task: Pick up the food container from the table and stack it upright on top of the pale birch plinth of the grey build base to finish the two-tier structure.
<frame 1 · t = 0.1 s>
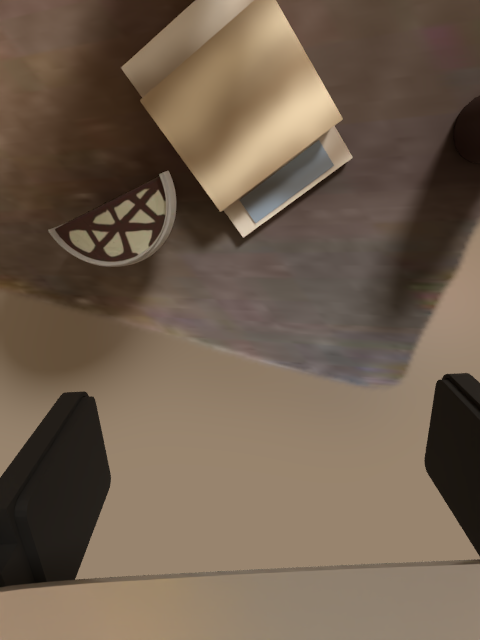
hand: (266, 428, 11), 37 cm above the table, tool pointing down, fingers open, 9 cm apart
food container: (143, 219, 45), on the table
build base: (241, 116, 42), on the table
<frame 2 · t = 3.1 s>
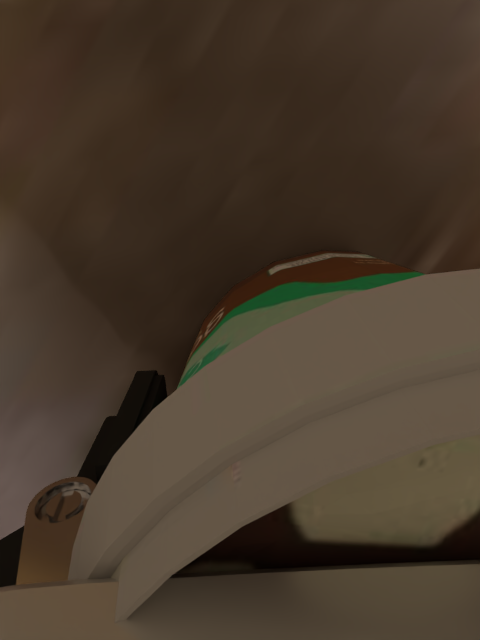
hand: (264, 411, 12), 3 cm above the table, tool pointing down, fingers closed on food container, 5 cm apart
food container: (242, 368, 14), on the table, touching gripper
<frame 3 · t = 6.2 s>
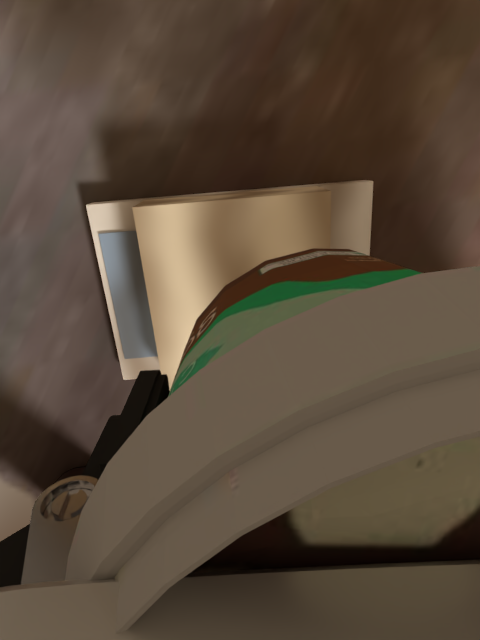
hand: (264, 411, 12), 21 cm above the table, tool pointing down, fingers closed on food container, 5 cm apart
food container: (235, 368, 14), point 18 cm above the table, touching gripper
build base: (237, 282, 32), on the table
when the fingers open (9 cm above the table, at t = 9.2 s): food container drops 1 cm, resting on build base.
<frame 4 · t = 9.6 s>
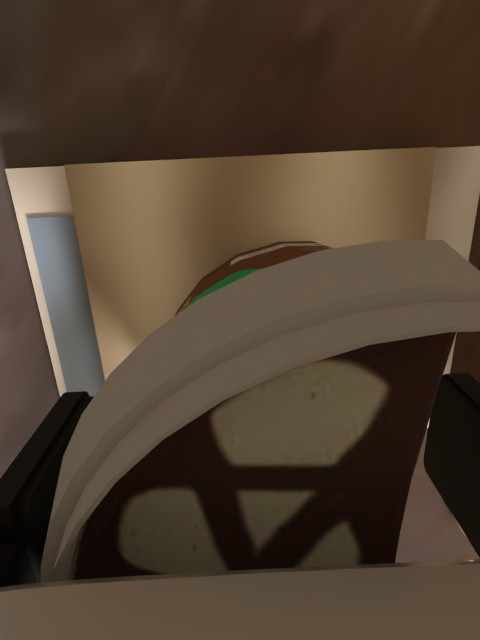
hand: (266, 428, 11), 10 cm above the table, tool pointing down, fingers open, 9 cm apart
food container: (216, 354, 16), point 5 cm above the table, touching build base
build base: (250, 304, 21), on the table
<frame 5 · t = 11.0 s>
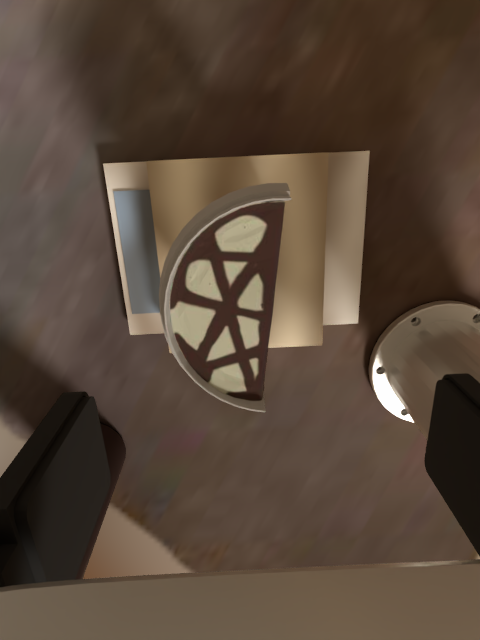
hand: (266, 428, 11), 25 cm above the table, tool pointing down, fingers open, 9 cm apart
bottle: (94, 446, 42), on the table
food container: (220, 262, 29), point 5 cm above the table, touching build base
build base: (240, 246, 34), on the table
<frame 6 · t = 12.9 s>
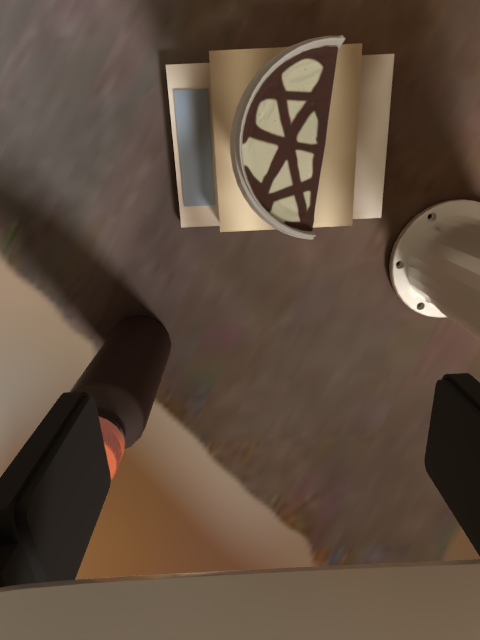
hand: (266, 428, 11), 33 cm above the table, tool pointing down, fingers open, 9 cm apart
bottle: (142, 341, 47), on the table
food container: (266, 146, 34), point 5 cm above the table, touching build base
build base: (278, 146, 39), on the table
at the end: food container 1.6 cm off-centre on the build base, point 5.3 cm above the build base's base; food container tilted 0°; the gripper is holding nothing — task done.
